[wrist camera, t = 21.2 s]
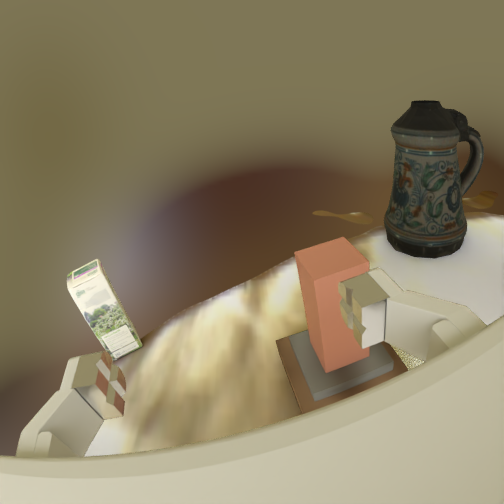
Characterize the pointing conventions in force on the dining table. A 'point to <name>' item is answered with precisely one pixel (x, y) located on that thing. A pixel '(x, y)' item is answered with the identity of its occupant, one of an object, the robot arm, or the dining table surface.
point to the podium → (333, 372)
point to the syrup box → (103, 309)
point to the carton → (330, 300)
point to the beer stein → (430, 180)
